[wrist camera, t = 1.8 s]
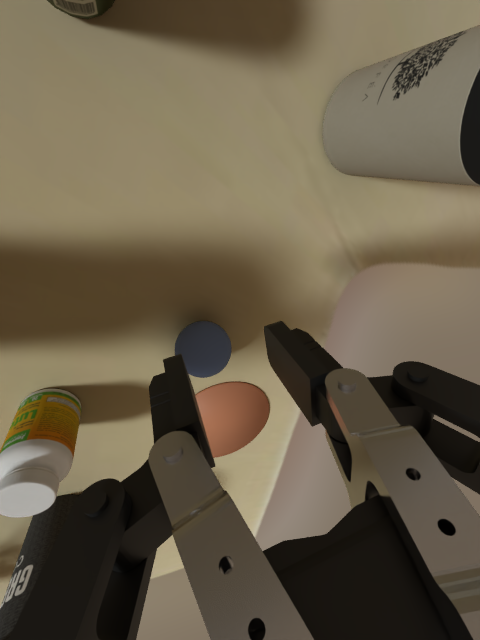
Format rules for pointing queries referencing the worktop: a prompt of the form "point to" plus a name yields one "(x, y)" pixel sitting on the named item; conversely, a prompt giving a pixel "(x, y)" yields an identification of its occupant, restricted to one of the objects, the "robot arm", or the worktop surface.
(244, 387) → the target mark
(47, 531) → the coffee cup
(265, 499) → the worktop surface
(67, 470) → the supplement bottle
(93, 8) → the beer can
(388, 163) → the travel mug
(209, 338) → the ball
